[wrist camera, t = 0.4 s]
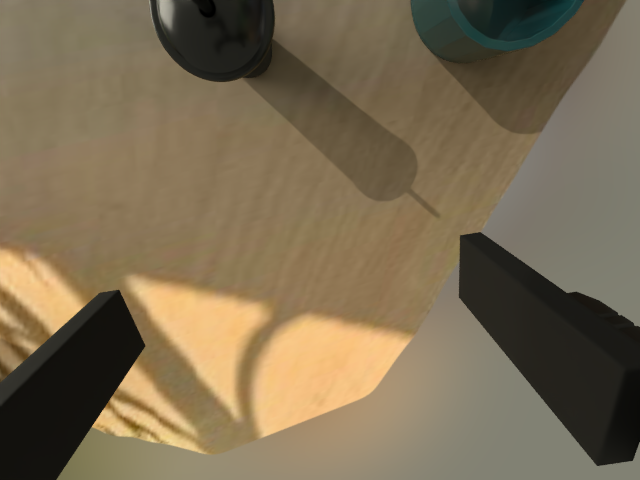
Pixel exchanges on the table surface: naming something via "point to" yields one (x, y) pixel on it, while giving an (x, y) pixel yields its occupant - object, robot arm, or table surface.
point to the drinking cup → (216, 36)
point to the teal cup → (487, 25)
